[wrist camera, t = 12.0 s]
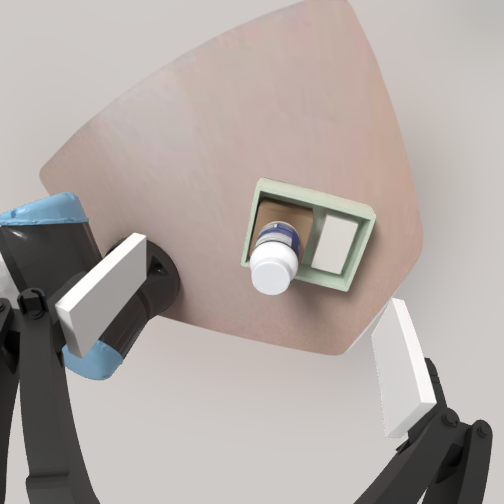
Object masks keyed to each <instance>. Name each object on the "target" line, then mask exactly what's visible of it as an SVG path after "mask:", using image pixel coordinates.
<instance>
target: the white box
mask: <svg viewBox="0 0 504 504" xmlns="http://www.w3.org/2000/svg"><path fill="white" fill-rule="evenodd" d="M357 227H358V223H357V220H356V217H355V216H351V215H348V214H344V213H341V212H337V211H333V210H330V209H326V210H325V214H324V217H323V220H322V224H321V227H320V230H319V233H318V237H317V240H316V243H315V246H314V249H313V253H312V256H311V267H312V268H316V269H320V270H324V271H328V272H332V273H336V274H340V273H341V270H342V268H343V265H344V263H345V260H346V257H347V255H348V252H349V249H350V246H351V244H352V241H353V238H354V235H355V232H356V230H357Z"/></svg>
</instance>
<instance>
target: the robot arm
mask: <svg viewBox="0 0 504 504" xmlns="http://www.w3.org/2000/svg"><path fill="white" fill-rule="evenodd" d="M88 222H89V219H88V218H87V217H86V215H85V213H84V211H83V208H82V206H81V203H80V201H79V199H78V197H77V196H76V195H75V194H73V193H71V192H63V193H60V194H56V195H53V196H50V197H47V198H44V199H41V200H38V201H35V202H32V203H29V204H27V205H23V206H21V207H18V208H15V209H13V210H10V211H7V212H5V213H2V214H1V215H0V225H1V227H0V504H4V501H5V494H6V473H7V457H8V446H9V437H10V429H11V421H12V415H13V409H14V404H15V398H16V393H17V388H18V383H19V379H20V402H21V415H22V426H23V434H24V442H25V448H26V455H27V461H28V465H29V473H30V474H29V476H28V477H27V478H26V489H27V494H28V498H29V501H30V504H100V502H99V500H98V499H97V497H96V495H95V493H94V491H93V489H92V486H91V483H90V480H89V477H88V473H87V470H86V467H85V463H84V460H83V456H82V453H81V449H80V445H79V441H78V437H77V433H76V429H75V424H74V420H73V415H72V410H71V404H70V399H69V393H68V387H67V380H66V373H65V367H67V368H68V369H70V370H72V371H73V372H75V373H77V374H79V375H81V376H83V377H85V378H88V379H93V380H105V379H107V378H109V377H110V376H112V374H113V373H114V372H115V370H116V369H117V368H118V366H119V365H121V364H122V362H123V360H124V359H125V357H126V355H127V354H128V352H129V350H130V349H131V347H132V346H133V344H134V342H135V341H136V339H137V338H138V336H139V334H140V333H141V331H142V330H143V328H144V327H145V325H146V323H147V322H148V321H149V320H150V319H152V318H153V317H155V316H156V315H158V314H159V313H161V312H163V311H165V310H166V309H167V308H168V307H169V306H170V305H171V304H172V302H173V301H174V299H175V298H176V296H177V294H178V291H179V276H178V272H177V269H176V267H175V265H174V263H173V262H172V260H171V259H170V257H169V256H168V255H167V254H166V253H165V252H164V251H163V250H162V249H161V248H160V247H159V246H157V245H156V244H154V243H152V242H151V241H148V240H146V236H145V235H141V234H137V233H133V234H132V235H131V236H130V237H128V238H124V239H121V240H120V241H118V242H117V243H116V244H115V245H113V246H112V247H111V248H110V249H109V250H108V252H107V253H106V255H105V257H104V259H103V258H102V256H101V254H100V251H99V249H98V246H97V244H96V241H95V239H94V236H93V234H92V231H91V228H90V226H89V223H88ZM371 338H372V344H373V349H374V355H375V361H376V367H377V374H378V381H379V387H380V395H381V402H382V410H383V420H384V429H385V438H401V437H402V436H403V435H404V434H405V433H407V432H408V437H409V439H408V440H406V441H405V442H404V443H403V444H402V445H400V446H399V447H398V448H397V449H396V451H398V452H397V453H396V454H395V456H394V457H393V458H392V460H391V461H390V462H389V463H388V465H387V466H386V467H385V468H384V470H383V471H382V472H381V473H380V475H379V476H378V477H377V478H376V479H375V481H374V482H373V483H372V484H371V485H370V486H369V488H368V489H367V490H366V491H365V492H364V493H363V494H362V495H361V496H360V497H359V499H357V500H356V502H355V503H354V504H417V502H418V501H419V499H420V498H421V496H422V495H423V493H424V492H425V490H426V489H427V490H426V493H425V496H424V499H423V502H422V504H482V501H483V497H484V492H485V487H486V482H487V476H488V470H489V463H490V455H491V447H492V436H493V435H492V429H491V427H490V425H489V424H488V423H487V422H485V421H484V420H477V421H476V422H475V423H474V424H472V425H468V424H465V423H462V422H460V420H459V417H458V415H457V414H456V412H455V411H454V410H452V409H450V408H447V405H446V401H445V397H444V394H443V390H442V387H441V384H440V380H439V377H438V374H437V370H436V367H435V366H434V364H433V363H432V361H431V360H430V359H429V358H424V357H423V354H422V350H421V347H420V344H419V342H418V338H417V336H416V332H415V330H414V327H413V324H412V321H411V319H410V316H409V313H408V310H407V308H406V305H405V303H404V300H399V299H395V298H391V300H390V302H389V304H388V306H387V308H386V310H385V311H384V313H383V315H382V317H381V319H380V321H379V323H378V324H377V326H376V328H375V330H374V332H373V334H372V335H371ZM427 487H428V488H427Z"/></svg>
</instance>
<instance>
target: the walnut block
mask: <svg viewBox="0 0 504 504" xmlns="http://www.w3.org/2000/svg"><path fill="white" fill-rule="evenodd" d="M275 221H281V222H285V223H288V224H290V225H291V226H293V227H294V228H295V229H296V231H297V233H298V235H299V239H300V247H299V261H298V268H299V267H300V264H301V261H302V257H303V254H304V251H305V248H306V244H307V241H308V238H309V234H310V231H311V227H312V224H313V208H309V207H305V206H301V205H297V204H293V203H289V202H285V201H281V200H277V199H273V198H269V197H265V196H264V198H263V200H262V202H261V204H260V207H259V210H258V214H257V219H256V224H255V229H254V233H253V238H252V243H251V248H250V253H249V256H251V255H252V252H253V250H254V247H255V244H256V242H257V239H258V236H259V233H260V231H261V230H262V228H263V227H264V226H265V225H267V224H269V223H271V222H275Z"/></svg>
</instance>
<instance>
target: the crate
mask: <svg viewBox="0 0 504 504" xmlns="http://www.w3.org/2000/svg"><path fill="white" fill-rule="evenodd" d="M264 196H265V197H269V198H273V199H277V200H281V201H285V202H289V203H293V204H297V205H301V206H305V207H309V208H313V224H312V227H311V231H310V234H309V238H308V241H307V244H306V248H305V251H304V254H303V257H302V261H301V264H300V267H299V268H298V270H297V273H296V275H295V277H294V278H293V279H297V280H301V281H305V282H309V283H313V284H317V285H321V286H325V287H329V288H334V289H338V290H342V291H346V292H347V291H348V289H349V287H350V284H351V282H352V280H353V277H354V275H355V272H356V270H357V267H358V265H359V262H360V260H361V257H362V255H363V252H364V250H365V247H366V244H367V242H368V239H369V236H370V234H371V231H372V228H373V226H374V223H375V220H376V215H375V213H374V212H373V210H372V208H371V206H369V205H366V204H362V203H359V202H355V201H352V200H349V199H345V198H341V197H338V196H334V195H331V194H327V193H323V192H320V191H316V190H312V189H308V188H304V187H301V186H297V185H293V184H289V183H284V182H280V181H276V180H272V179H268V178H263V177H261V179H260V180H259V182H258V183H257V185H256V189H255V194H254V199H253V204H252V209H251V214H250V219H249V224H248V229H247V234H246V239H245V244H244V249H243V254H242V259H241V264H240V265H241V266H245V267H249V268H250V258H251V256H249V253H250V248H251V243H252V238H253V233H254V229H255V224H256V219H257V214H258V210H259V207H260V204H261V202H262V200H263V198H264ZM326 209H330V210H333V211H337V212H341V213H344V214H348V215H351V216H355V217H356V220H357V223H358V227H357V230H356V232H355V235H354V238H353V241H352V244H351V246H350V249H349V252H348V255H347V257H346V260H345V263H344V265H343V268H342V270H341V273H340V274H336V273H332V272H328V271H324V270H320V269H316V268H312V267H311V256H312V253H313V249H314V246H315V243H316V240H317V237H318V233H319V230H320V227H321V224H322V220H323V217H324V214H325V210H326Z"/></svg>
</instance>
